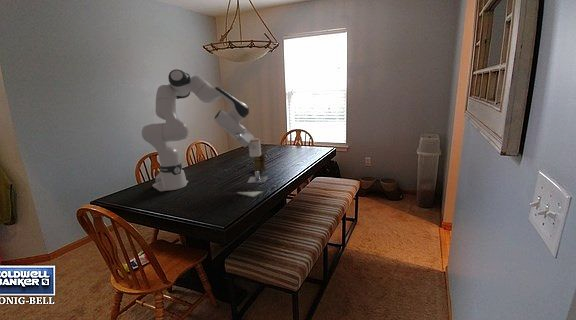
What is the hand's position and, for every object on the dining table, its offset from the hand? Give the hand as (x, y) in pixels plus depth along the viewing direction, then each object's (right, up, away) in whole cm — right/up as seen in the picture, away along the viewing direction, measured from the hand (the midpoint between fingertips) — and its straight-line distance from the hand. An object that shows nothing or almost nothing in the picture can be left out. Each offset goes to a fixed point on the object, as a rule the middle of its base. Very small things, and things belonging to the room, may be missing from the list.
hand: (255, 147), depth 169 cm
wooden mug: (+1, -15, +27) cm, 31 cm away
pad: (0, -25, -12) cm, 28 cm away
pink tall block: (0, -5, +1) cm, 5 cm away
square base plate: (+1, -21, +5) cm, 21 cm away
